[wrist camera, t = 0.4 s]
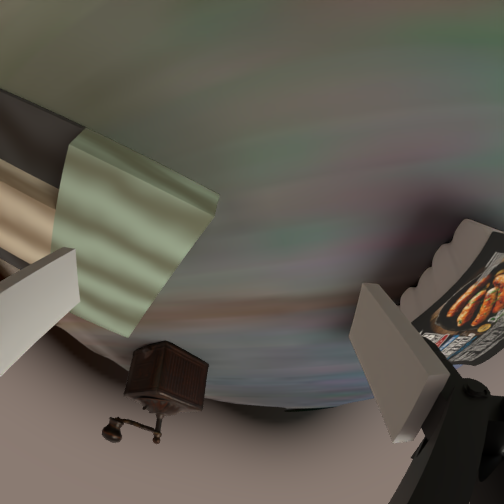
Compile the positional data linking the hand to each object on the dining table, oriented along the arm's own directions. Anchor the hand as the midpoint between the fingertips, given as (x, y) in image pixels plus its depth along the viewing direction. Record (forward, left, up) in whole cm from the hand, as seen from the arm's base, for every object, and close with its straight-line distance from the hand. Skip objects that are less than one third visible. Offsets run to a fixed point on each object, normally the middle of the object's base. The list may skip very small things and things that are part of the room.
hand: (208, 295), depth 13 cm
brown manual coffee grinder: (+43, -15, -15) cm, 48 cm away
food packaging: (+16, +30, -15) cm, 37 cm away
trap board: (+7, -26, -15) cm, 31 cm away
